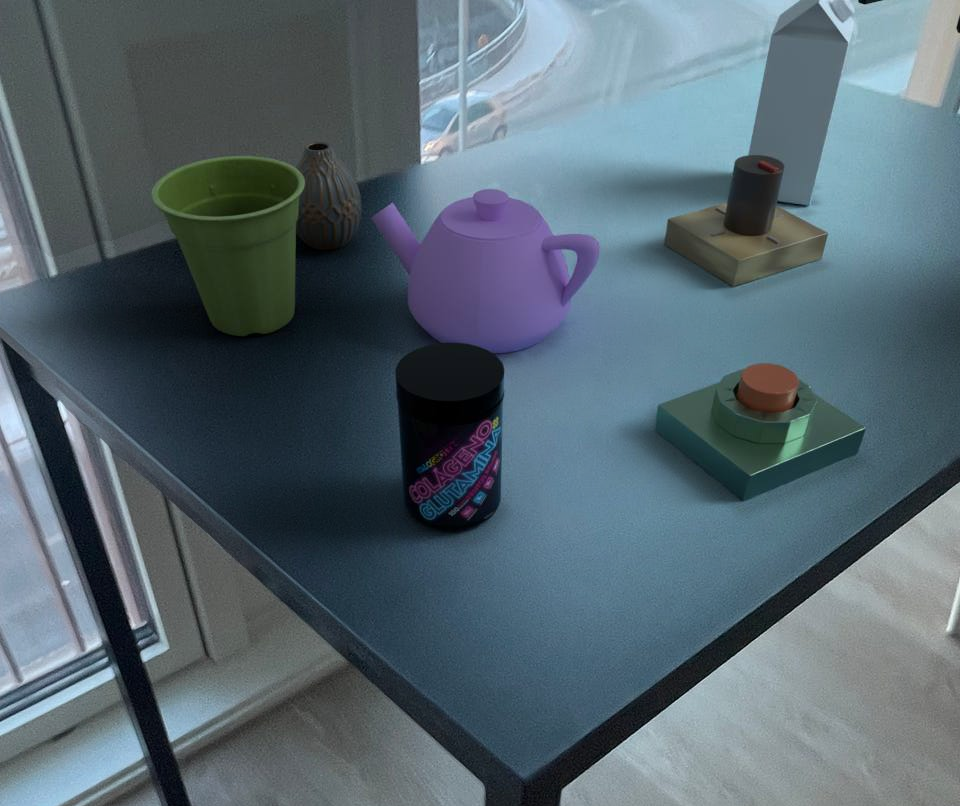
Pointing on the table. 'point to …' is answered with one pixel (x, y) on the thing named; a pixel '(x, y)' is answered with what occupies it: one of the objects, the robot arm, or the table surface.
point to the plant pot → (237, 237)
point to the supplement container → (451, 434)
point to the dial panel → (744, 244)
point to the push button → (767, 388)
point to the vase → (327, 199)
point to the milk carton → (802, 91)
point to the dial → (753, 194)
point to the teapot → (488, 271)
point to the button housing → (757, 436)
